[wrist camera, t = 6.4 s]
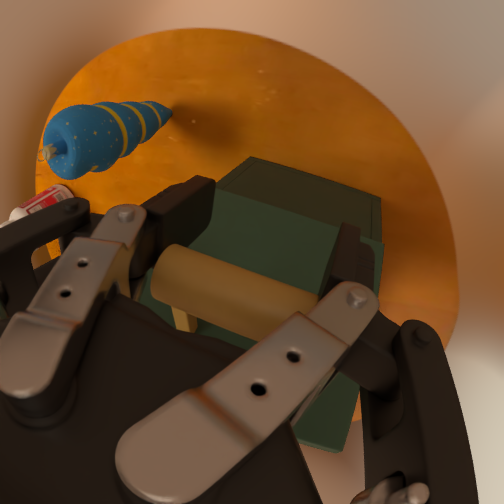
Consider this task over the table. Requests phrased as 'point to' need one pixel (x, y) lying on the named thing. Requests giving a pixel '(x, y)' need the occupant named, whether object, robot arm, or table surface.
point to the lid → (256, 291)
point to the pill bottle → (40, 202)
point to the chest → (305, 195)
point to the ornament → (99, 135)
